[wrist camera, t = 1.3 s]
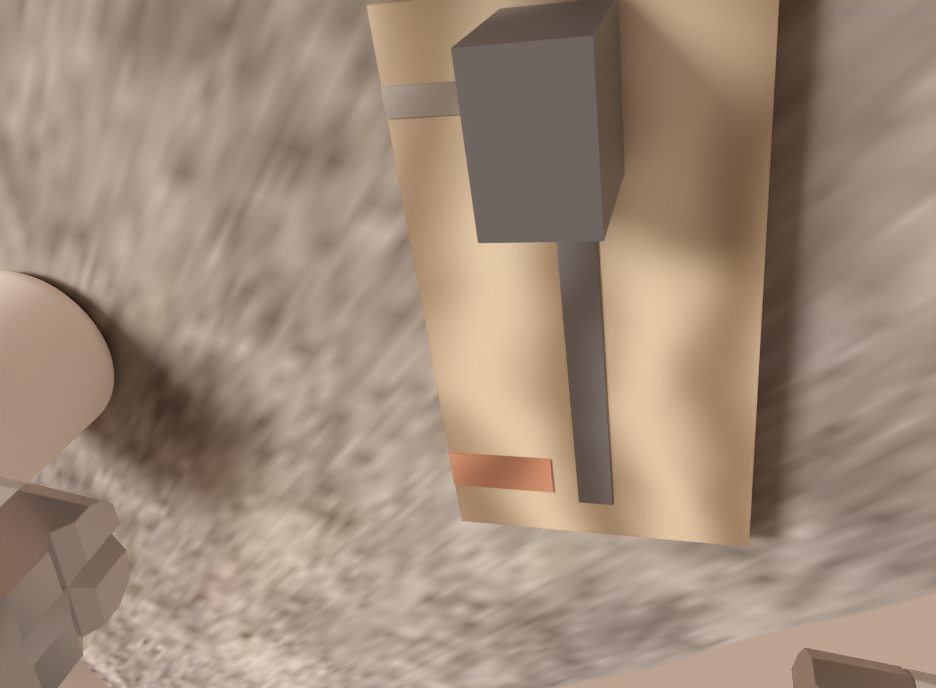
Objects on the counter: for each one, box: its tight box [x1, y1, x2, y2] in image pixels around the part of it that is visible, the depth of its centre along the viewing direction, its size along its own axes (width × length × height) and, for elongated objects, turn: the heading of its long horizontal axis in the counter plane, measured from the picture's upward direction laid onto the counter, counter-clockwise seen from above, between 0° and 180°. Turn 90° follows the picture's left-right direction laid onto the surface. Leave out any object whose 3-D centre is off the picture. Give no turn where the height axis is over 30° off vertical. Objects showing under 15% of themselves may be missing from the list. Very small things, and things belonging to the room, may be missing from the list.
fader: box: [451, 0, 625, 243], centre depth 26 cm, size 4×6×6 cm, turn 8°
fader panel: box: [367, 0, 779, 547], centre depth 34 cm, size 14×25×2 cm, turn 8°
